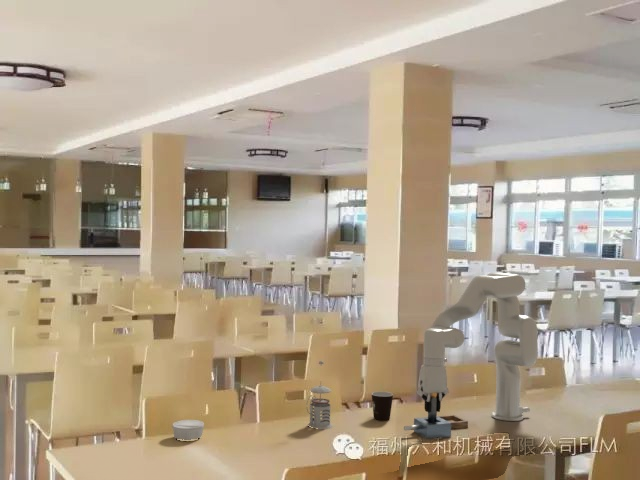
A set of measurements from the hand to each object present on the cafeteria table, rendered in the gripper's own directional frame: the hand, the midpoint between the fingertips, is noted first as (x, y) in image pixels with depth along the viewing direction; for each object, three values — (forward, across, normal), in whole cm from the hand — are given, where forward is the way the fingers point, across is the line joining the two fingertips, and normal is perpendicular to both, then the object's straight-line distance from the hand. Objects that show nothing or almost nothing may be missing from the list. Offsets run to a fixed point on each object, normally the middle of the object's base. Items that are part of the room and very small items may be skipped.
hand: (432, 410), depth 264 cm
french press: (+9, +37, -22) cm, 44 cm away
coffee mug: (+9, +8, -26) cm, 29 cm away
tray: (+9, -12, -9) cm, 17 cm away
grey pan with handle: (+9, +3, 0) cm, 9 cm away
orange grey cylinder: (+4, 0, 0) cm, 4 cm away
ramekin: (+10, +87, -21) cm, 90 cm away
